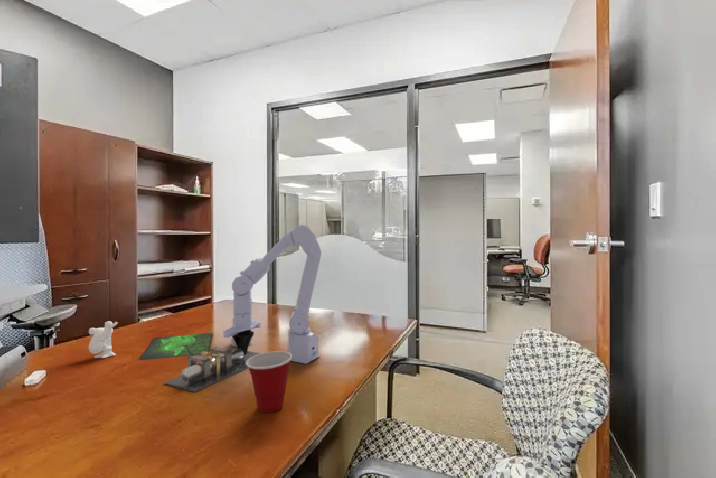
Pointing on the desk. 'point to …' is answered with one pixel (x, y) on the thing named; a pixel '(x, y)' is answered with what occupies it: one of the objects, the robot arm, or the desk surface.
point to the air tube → (197, 369)
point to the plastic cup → (269, 378)
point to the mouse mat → (178, 346)
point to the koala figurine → (102, 340)
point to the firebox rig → (213, 375)
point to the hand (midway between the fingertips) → (242, 354)
